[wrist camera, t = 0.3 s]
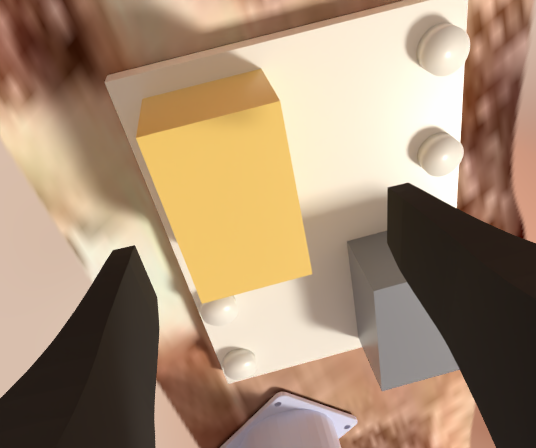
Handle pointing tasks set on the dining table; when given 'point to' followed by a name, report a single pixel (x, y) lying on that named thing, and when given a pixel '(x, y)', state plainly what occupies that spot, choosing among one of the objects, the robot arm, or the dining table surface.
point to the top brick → (226, 183)
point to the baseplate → (328, 157)
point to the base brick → (393, 318)
